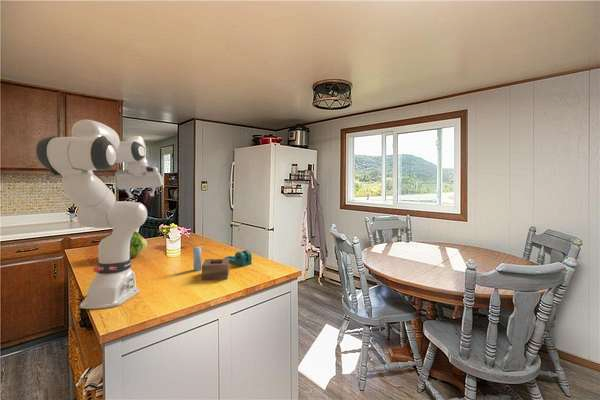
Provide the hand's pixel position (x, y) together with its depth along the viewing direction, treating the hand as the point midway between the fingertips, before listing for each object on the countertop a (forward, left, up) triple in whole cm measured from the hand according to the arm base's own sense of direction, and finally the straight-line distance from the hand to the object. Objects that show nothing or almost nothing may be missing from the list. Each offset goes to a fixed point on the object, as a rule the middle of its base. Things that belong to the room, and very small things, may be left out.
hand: (141, 197), depth 148 cm
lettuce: (+35, +21, -40) cm, 57 cm away
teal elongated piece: (+17, -46, -40) cm, 63 cm away
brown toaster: (-6, -37, -39) cm, 54 cm away
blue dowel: (+5, -26, -39) cm, 47 cm away
